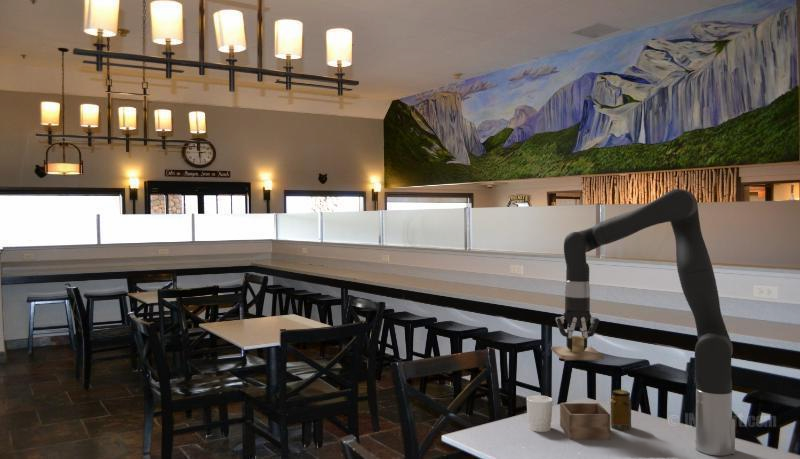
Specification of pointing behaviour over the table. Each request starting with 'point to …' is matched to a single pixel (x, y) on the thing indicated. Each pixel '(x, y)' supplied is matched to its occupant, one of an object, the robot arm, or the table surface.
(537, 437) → the table surface
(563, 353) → the lid
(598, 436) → the box
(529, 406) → the white cup
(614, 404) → the condiment
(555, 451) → the table surface
